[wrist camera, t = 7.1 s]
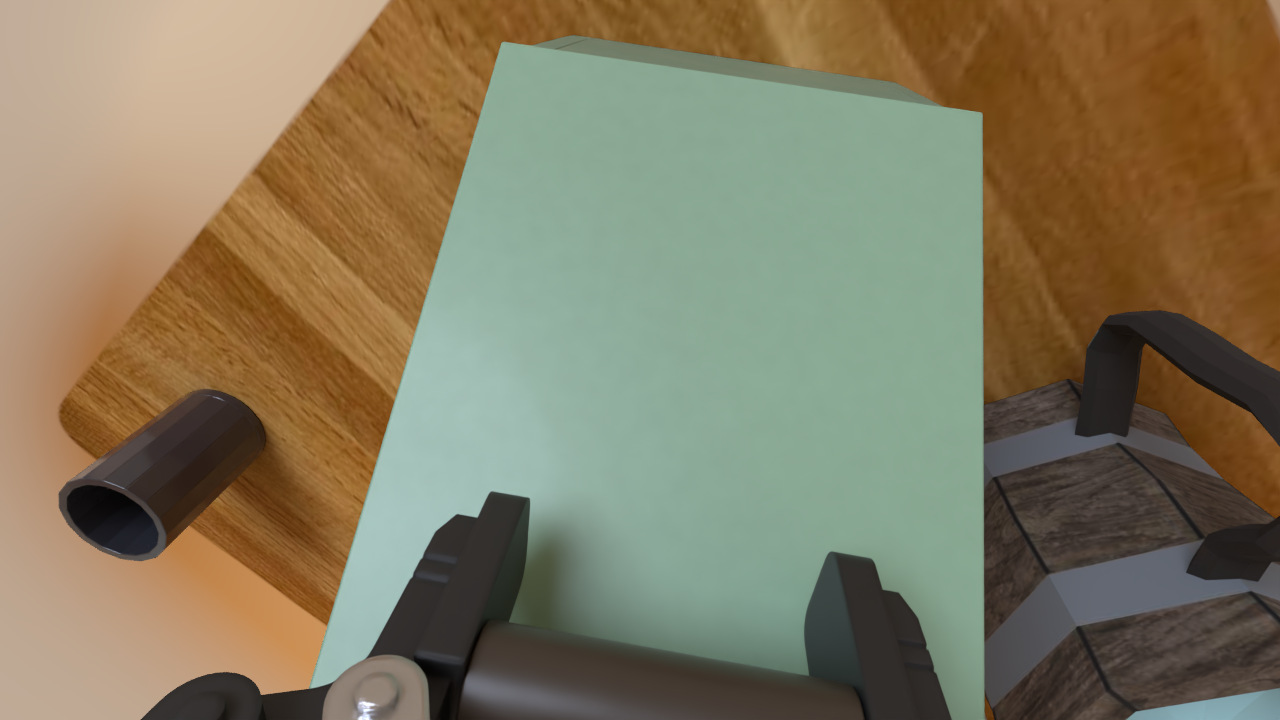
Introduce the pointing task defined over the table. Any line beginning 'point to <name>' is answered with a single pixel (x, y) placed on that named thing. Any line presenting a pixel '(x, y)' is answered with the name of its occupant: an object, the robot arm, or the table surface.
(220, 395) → the cup
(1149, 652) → the mug
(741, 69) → the chest
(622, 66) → the lid
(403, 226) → the table surface
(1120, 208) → the table surface
